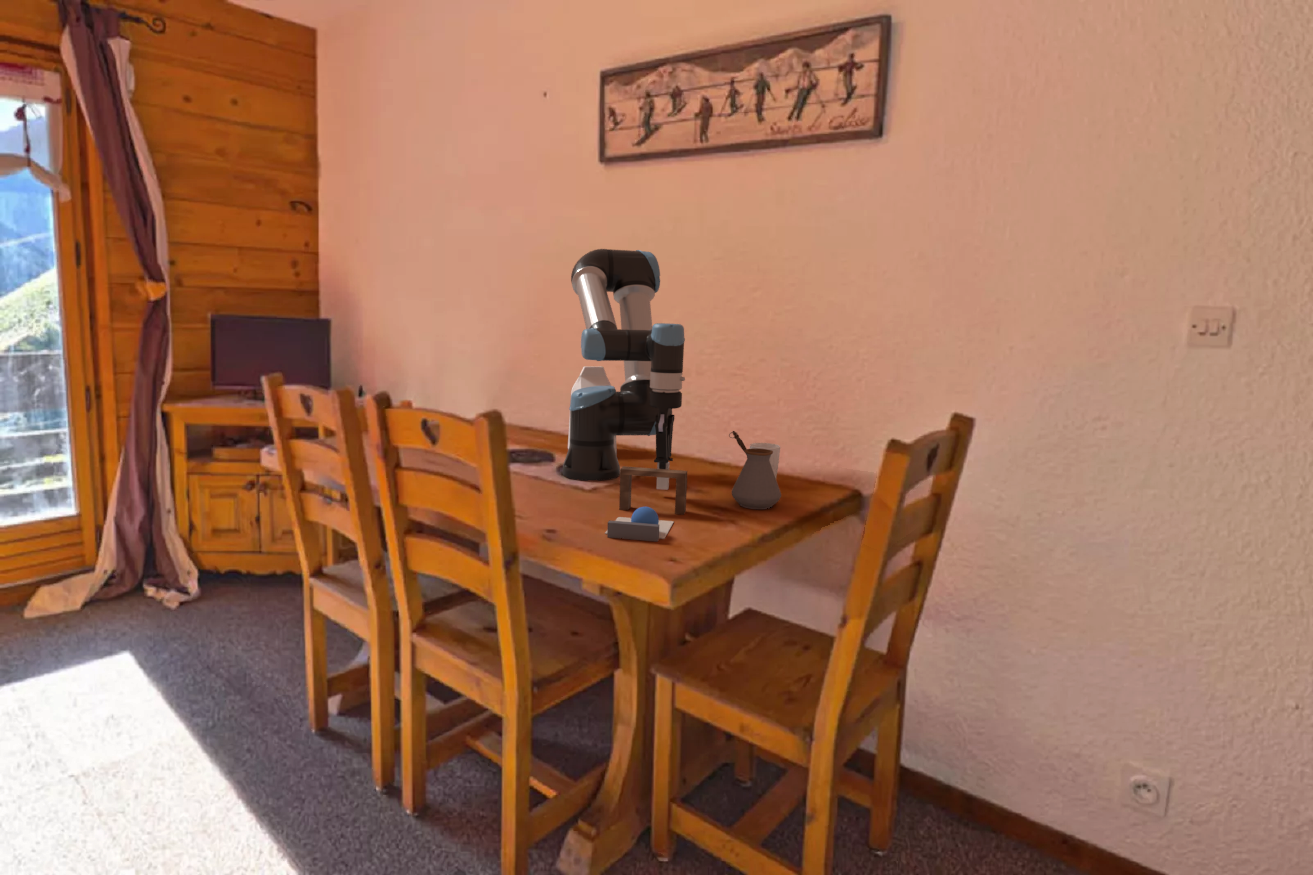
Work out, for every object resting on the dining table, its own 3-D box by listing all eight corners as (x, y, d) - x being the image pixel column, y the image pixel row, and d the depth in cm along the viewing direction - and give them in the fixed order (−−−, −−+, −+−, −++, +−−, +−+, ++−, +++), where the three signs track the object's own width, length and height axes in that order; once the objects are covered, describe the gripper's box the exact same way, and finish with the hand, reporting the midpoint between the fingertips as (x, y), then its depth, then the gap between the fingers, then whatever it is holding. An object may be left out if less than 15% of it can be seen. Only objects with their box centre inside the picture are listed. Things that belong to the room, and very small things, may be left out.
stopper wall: (607, 537, 150) (607, 522, 150) (609, 535, 152) (609, 520, 151) (657, 541, 148) (658, 526, 148) (658, 539, 150) (659, 524, 149)
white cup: (777, 487, 196) (779, 449, 194) (746, 485, 198) (748, 447, 196) (778, 480, 204) (781, 443, 202) (749, 478, 205) (751, 441, 204)
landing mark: (604, 533, 152) (604, 532, 152) (618, 517, 164) (618, 516, 164) (664, 539, 150) (664, 538, 150) (673, 522, 162) (673, 521, 162)
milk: (578, 456, 227) (580, 368, 223) (567, 448, 238) (568, 365, 233) (616, 454, 232) (618, 368, 227) (604, 447, 242) (606, 365, 238)
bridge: (619, 509, 170) (620, 469, 169) (622, 506, 173) (623, 466, 172) (683, 514, 168) (685, 473, 166) (685, 511, 171) (687, 470, 169)
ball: (627, 529, 150) (630, 502, 152) (632, 536, 155) (635, 510, 157) (655, 531, 149) (657, 504, 151) (659, 538, 154) (661, 511, 156)
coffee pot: (789, 510, 175) (793, 445, 172) (742, 513, 171) (746, 447, 169) (750, 488, 195) (754, 429, 192) (708, 490, 191) (711, 430, 189)
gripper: (677, 394, 172) (673, 496, 176) (685, 388, 185) (682, 483, 189) (644, 392, 173) (641, 494, 177) (655, 386, 186) (652, 481, 190)
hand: (662, 488), depth 183 cm, fingers closed
